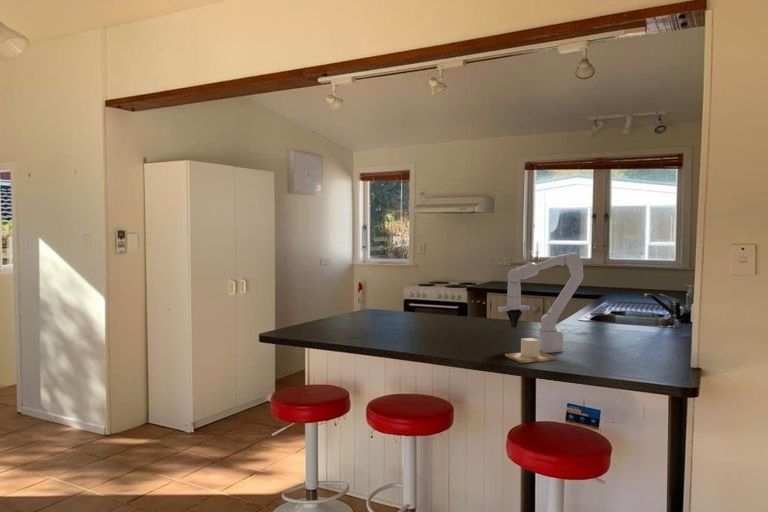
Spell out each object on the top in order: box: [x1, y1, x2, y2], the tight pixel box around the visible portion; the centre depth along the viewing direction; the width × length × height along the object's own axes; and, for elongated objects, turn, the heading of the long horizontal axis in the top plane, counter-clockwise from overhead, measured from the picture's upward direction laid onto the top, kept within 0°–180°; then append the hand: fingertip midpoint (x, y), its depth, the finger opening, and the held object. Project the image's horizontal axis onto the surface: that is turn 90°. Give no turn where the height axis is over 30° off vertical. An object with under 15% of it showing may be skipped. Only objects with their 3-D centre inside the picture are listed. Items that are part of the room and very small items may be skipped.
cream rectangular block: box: [520, 337, 539, 357], centre depth 222 cm, size 5×5×7 cm
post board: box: [504, 351, 557, 364], centre depth 222 cm, size 16×12×6 cm
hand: (513, 327), depth 239 cm, fingers closed
